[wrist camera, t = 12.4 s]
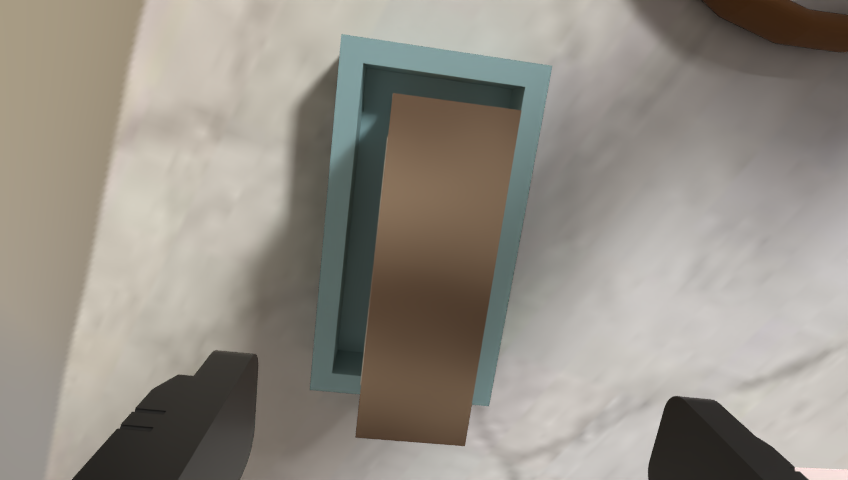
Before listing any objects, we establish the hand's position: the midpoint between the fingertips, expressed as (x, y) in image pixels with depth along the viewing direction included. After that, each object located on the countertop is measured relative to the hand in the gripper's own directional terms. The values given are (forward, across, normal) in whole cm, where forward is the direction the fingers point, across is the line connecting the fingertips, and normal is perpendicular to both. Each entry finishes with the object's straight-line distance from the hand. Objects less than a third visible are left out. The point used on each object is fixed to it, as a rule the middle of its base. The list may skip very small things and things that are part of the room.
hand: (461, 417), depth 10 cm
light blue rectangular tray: (+17, 0, 0) cm, 17 cm away
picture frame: (+16, 0, 0) cm, 16 cm away
